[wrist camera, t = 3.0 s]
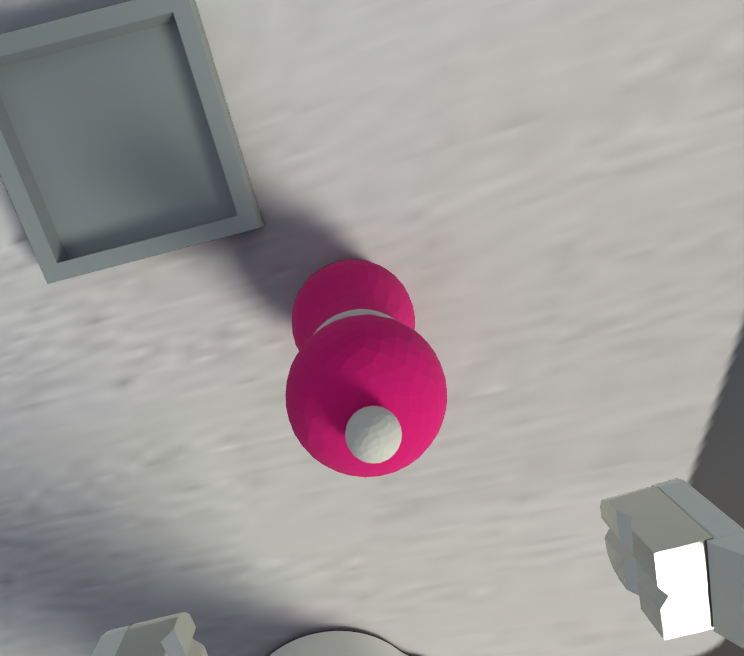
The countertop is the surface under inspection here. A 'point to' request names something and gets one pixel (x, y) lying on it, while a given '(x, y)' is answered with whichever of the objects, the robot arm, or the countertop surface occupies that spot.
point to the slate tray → (119, 138)
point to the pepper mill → (362, 372)
